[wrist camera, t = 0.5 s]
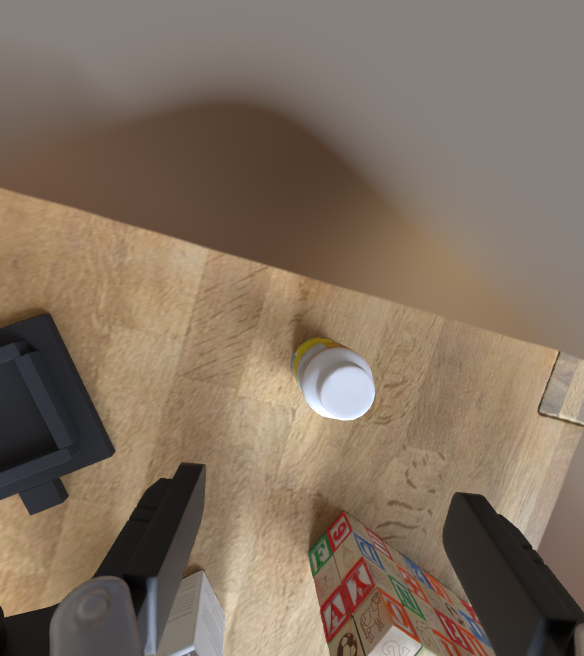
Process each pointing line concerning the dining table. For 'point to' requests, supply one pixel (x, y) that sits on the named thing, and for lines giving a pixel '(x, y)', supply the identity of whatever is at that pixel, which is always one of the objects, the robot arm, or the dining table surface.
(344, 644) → the stack of blocks
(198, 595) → the product carton
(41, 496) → the black tray
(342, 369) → the supplement bottle
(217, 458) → the dining table surface
